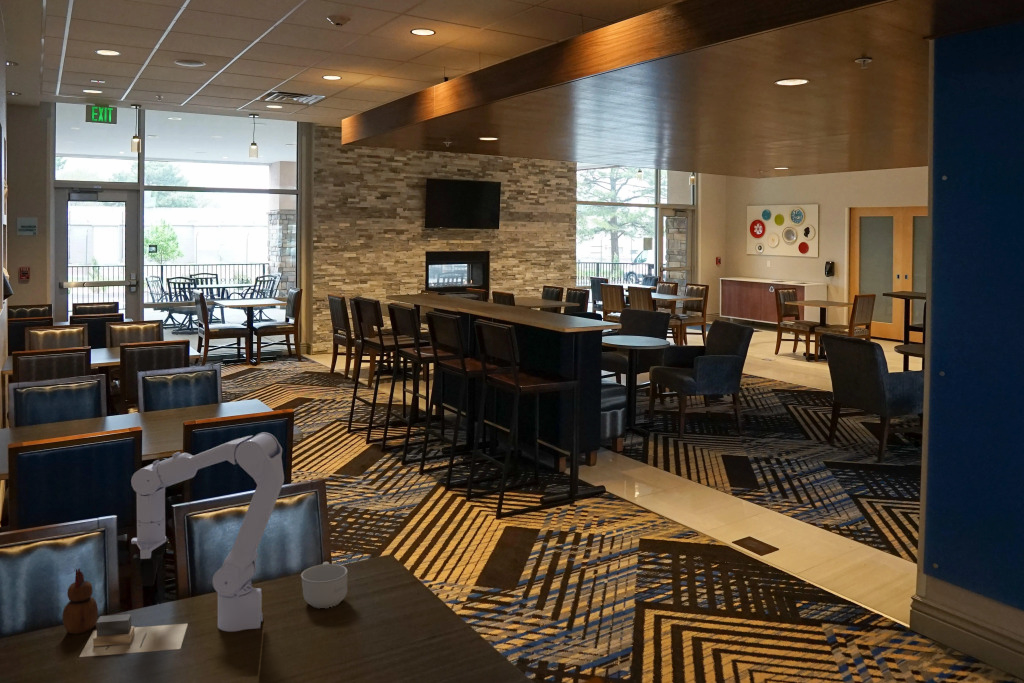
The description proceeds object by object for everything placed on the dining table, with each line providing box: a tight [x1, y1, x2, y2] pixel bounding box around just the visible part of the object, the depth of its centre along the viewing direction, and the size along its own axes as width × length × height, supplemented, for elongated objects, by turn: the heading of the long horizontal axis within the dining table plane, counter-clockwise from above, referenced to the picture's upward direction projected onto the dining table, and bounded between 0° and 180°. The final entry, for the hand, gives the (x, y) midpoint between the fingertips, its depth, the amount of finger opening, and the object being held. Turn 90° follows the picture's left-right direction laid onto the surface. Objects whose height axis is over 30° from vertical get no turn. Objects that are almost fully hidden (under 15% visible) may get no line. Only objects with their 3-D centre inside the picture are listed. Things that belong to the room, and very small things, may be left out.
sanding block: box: [93, 613, 135, 648], centre depth 171 cm, size 7×4×5 cm, turn 105°
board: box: [78, 623, 189, 658], centre depth 173 cm, size 19×12×1 cm, turn 104°
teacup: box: [300, 561, 349, 609], centre depth 198 cm, size 14×11×8 cm
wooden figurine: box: [62, 568, 99, 634], centre depth 176 cm, size 7×6×15 cm
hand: (151, 578), depth 182 cm, fingers open, 7 cm apart
